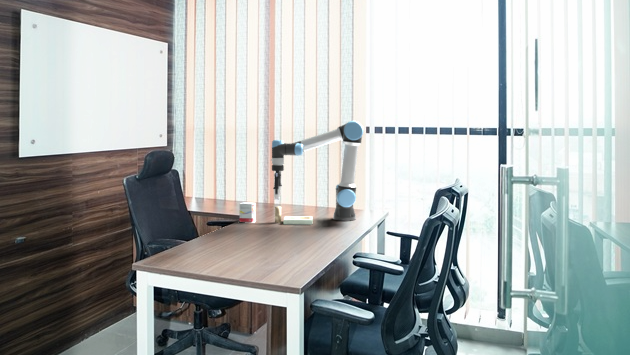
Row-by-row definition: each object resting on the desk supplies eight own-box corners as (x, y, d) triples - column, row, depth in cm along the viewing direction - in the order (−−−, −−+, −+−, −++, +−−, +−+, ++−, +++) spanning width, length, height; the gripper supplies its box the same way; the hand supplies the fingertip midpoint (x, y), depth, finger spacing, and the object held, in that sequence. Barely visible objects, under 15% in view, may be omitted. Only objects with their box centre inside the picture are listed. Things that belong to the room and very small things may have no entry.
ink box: (252, 222, 308) (251, 204, 307) (239, 222, 310) (238, 203, 308) (256, 220, 316) (255, 202, 315) (243, 219, 318) (243, 201, 317)
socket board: (312, 221, 315) (312, 216, 315) (312, 224, 303) (312, 219, 303) (285, 220, 316) (285, 216, 315) (283, 224, 304) (283, 219, 303)
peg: (281, 222, 312) (281, 206, 311) (280, 223, 308) (280, 207, 307) (275, 221, 312) (275, 206, 311) (274, 223, 308) (274, 207, 307)
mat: (256, 220, 318) (256, 219, 318) (254, 223, 308) (254, 222, 308) (241, 220, 318) (241, 219, 318) (238, 222, 308) (238, 222, 308)
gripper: (273, 163, 318) (273, 195, 321) (269, 166, 294) (269, 200, 296) (285, 163, 318) (284, 195, 320) (282, 166, 293) (281, 200, 296)
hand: (277, 198), depth 308 cm, fingers open, 13 cm apart
